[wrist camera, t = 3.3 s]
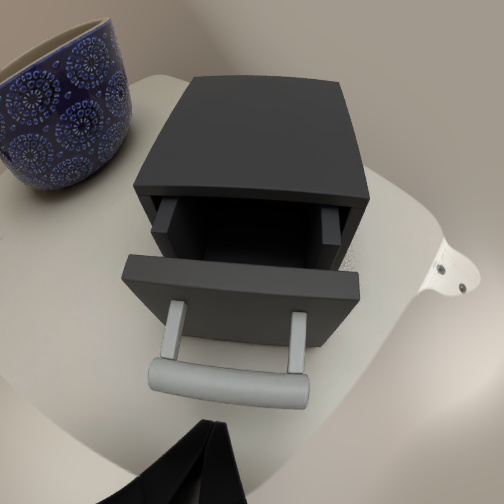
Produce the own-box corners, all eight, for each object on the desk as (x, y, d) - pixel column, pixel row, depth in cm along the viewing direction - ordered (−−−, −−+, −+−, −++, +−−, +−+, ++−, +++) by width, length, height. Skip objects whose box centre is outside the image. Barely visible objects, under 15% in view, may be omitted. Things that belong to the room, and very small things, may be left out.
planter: (103, 107, 35) (76, 23, 22) (172, 133, 29) (144, 9, 17) (16, 178, 28) (-33, 96, 15) (53, 235, 23) (-32, 114, 10)
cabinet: (328, 290, 19) (370, 198, 11) (179, 278, 20) (132, 185, 12) (322, 173, 25) (339, 82, 17) (209, 167, 26) (193, 76, 18)
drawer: (317, 410, 14) (361, 408, 8) (161, 392, 15) (95, 374, 9) (320, 211, 22) (338, 129, 15) (202, 203, 23) (183, 122, 16)
